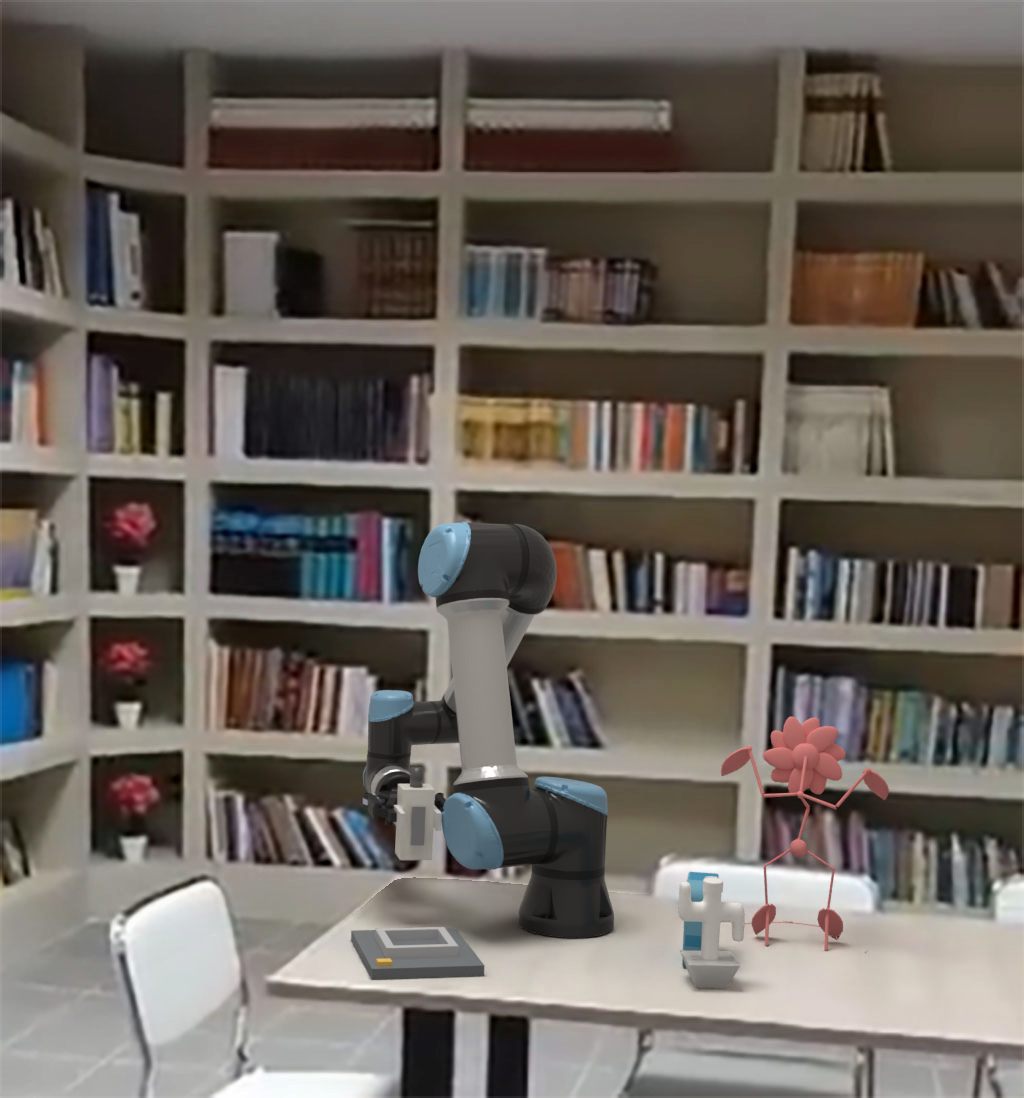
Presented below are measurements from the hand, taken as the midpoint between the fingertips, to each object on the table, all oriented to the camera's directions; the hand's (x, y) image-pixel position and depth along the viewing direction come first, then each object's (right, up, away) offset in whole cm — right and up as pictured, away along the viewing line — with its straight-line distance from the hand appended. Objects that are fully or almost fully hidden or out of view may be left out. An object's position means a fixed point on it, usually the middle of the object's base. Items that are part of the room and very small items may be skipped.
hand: (420, 822), depth 254 cm
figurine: (+42, -20, -20) cm, 50 cm away
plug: (-1, -6, +5) cm, 8 cm away
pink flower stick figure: (+59, -20, +7) cm, 62 cm away
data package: (+42, -19, -7) cm, 47 cm away
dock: (0, -18, -13) cm, 22 cm away
